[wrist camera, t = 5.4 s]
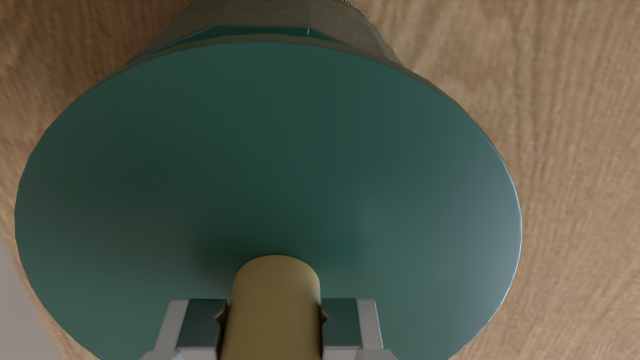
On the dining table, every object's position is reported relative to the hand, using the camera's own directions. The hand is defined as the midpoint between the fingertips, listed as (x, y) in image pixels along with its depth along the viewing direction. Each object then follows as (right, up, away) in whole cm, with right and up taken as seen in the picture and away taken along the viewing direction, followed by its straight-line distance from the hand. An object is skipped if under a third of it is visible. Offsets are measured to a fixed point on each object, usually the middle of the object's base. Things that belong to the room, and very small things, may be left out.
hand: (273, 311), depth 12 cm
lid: (0, +1, +1) cm, 2 cm away
